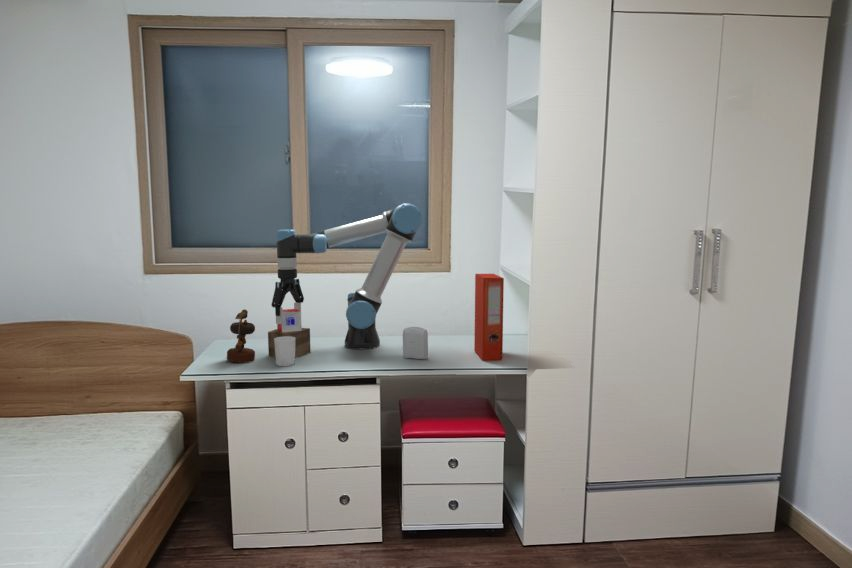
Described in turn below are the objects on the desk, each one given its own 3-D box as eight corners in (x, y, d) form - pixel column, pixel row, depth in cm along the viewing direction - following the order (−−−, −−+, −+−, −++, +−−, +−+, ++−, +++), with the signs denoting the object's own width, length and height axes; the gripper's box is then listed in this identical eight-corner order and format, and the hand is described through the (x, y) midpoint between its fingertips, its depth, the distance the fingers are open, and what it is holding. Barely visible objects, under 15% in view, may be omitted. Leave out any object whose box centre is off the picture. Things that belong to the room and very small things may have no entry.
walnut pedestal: (310, 352, 262) (309, 328, 261) (294, 358, 251) (293, 333, 250) (285, 350, 267) (284, 326, 265) (268, 356, 255) (267, 331, 254)
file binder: (493, 350, 263) (494, 273, 260) (503, 360, 246) (503, 277, 243) (474, 351, 262) (474, 273, 259) (482, 361, 245) (482, 278, 242)
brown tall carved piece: (255, 363, 244) (253, 311, 242) (225, 365, 241) (223, 313, 239) (256, 354, 258) (254, 306, 256) (228, 356, 256) (226, 307, 254)
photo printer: (401, 358, 251) (400, 327, 250) (406, 355, 255) (405, 325, 254) (425, 360, 247) (424, 328, 246) (429, 358, 251) (429, 327, 250)
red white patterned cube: (296, 327, 263) (296, 308, 262) (301, 330, 256) (301, 311, 255) (277, 329, 260) (276, 310, 259) (281, 332, 253) (281, 312, 252)
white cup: (276, 362, 246) (275, 336, 245) (297, 361, 247) (296, 336, 245) (273, 367, 238) (272, 340, 237) (295, 366, 239) (294, 340, 238)
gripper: (295, 265, 268) (297, 315, 270) (260, 270, 245) (262, 325, 247) (311, 266, 265) (312, 316, 268) (277, 271, 242) (279, 326, 245)
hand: (288, 321), depth 257 cm, fingers open, 13 cm apart
